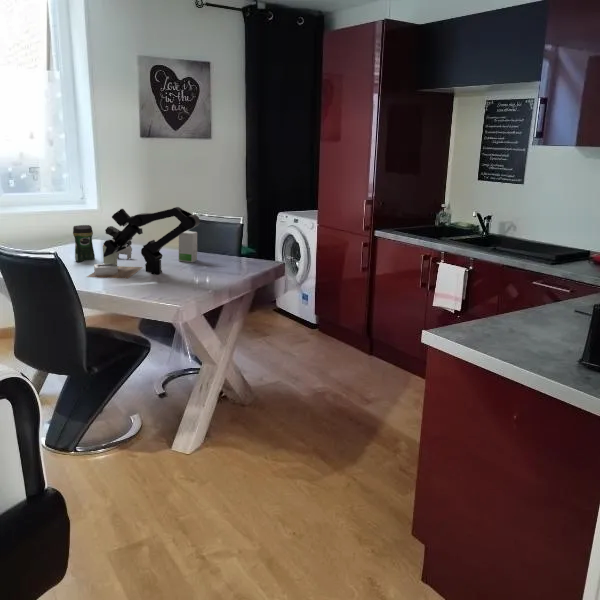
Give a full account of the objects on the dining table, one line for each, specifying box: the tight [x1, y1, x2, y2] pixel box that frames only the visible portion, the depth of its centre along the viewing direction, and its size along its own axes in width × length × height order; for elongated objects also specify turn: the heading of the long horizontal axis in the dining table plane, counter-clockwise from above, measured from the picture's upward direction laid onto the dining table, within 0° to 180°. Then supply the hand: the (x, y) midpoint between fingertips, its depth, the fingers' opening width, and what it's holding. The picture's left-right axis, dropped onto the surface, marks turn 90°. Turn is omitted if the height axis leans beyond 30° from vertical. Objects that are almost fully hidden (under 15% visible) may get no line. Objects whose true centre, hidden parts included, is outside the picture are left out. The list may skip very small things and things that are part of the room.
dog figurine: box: [111, 239, 133, 261], centre depth 305 cm, size 5×13×11 cm, turn 92°
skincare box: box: [178, 230, 198, 263], centre depth 305 cm, size 8×7×16 cm
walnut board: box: [86, 265, 144, 279], centre depth 273 cm, size 19×24×1 cm
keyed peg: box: [102, 244, 118, 265], centre depth 278 cm, size 5×3×12 cm, turn 81°
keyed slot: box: [93, 263, 118, 276], centre depth 268 cm, size 10×8×4 cm
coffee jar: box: [72, 224, 96, 263], centre depth 296 cm, size 10×8×19 cm
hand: (107, 254), depth 278 cm, fingers open, 6 cm apart
